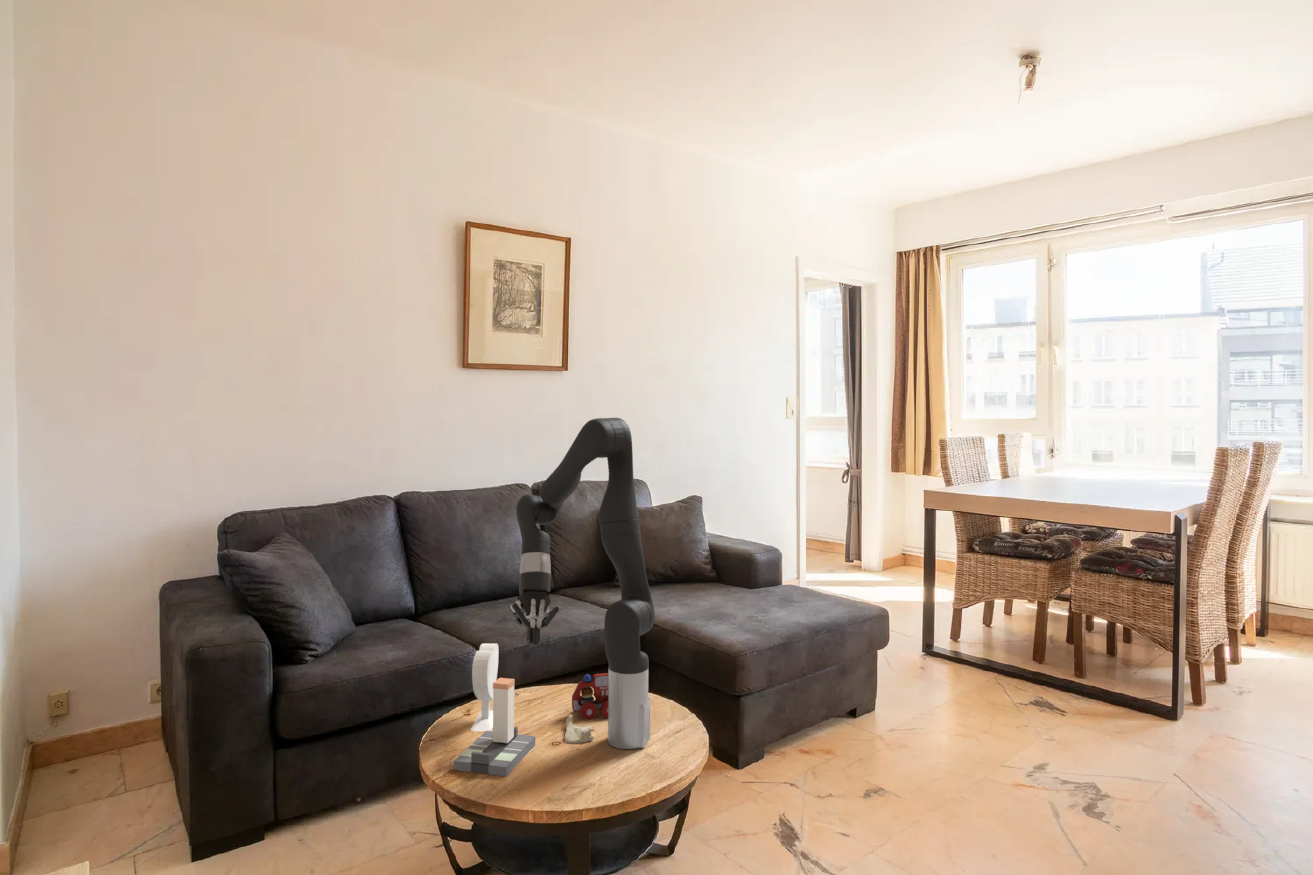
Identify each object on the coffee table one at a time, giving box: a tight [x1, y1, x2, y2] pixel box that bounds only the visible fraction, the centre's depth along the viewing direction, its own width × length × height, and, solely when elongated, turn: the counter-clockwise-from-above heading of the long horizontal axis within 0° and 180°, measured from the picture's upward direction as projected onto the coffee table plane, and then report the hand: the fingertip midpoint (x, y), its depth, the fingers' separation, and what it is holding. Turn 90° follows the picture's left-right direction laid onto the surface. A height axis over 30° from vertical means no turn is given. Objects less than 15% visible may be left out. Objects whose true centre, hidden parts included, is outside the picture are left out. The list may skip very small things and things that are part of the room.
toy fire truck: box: [571, 672, 609, 720], centre depth 194 cm, size 7×12×10 cm, turn 104°
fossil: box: [564, 714, 595, 744], centre depth 182 cm, size 7×11×3 cm, turn 8°
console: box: [452, 726, 536, 777], centre depth 169 cm, size 12×16×4 cm
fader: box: [492, 677, 516, 743], centre depth 173 cm, size 4×4×13 cm
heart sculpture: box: [470, 643, 500, 733], centre depth 189 cm, size 16×5×18 cm, turn 2°
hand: (533, 645), depth 184 cm, fingers closed
